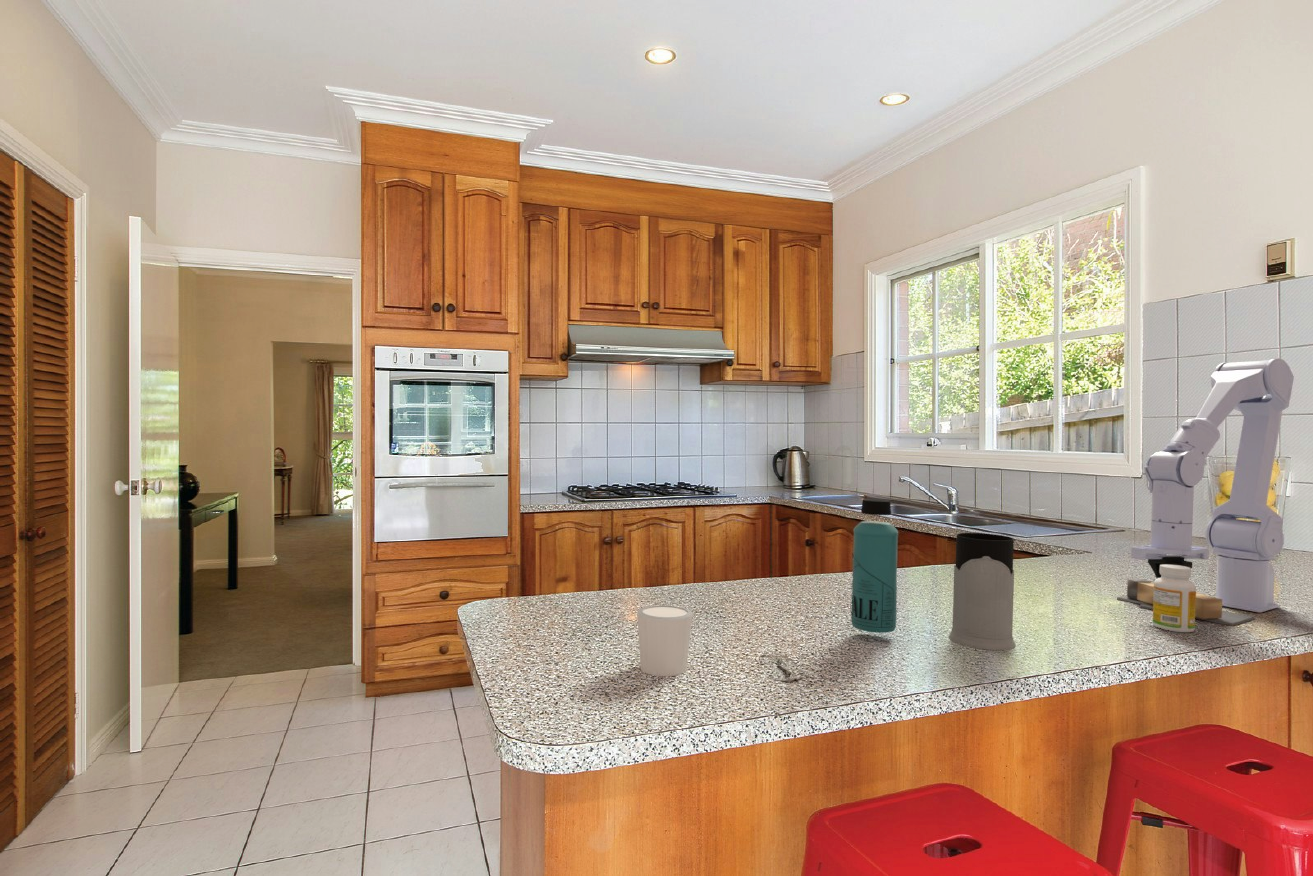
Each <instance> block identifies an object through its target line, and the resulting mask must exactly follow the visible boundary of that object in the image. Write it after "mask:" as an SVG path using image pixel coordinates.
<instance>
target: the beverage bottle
mask: <svg viewBox="0 0 1313 876" xmlns="http://www.w3.org/2000/svg"><path fill="white" fill-rule="evenodd" d="M891 505H892V504H891V500H888V499H882V498H865V499H863V500H862V502H861V511H860V512H861V514H864V515H873V516H891V514H892V508H891V507H892V506H891ZM898 538H899V530H898V529H897V528H896V527H895V526H894V525H893V524H892V523H891V522H885V521H878V520H877V521H876V520H875V521H873V520H866V521H864V520H862V521H860V522H859V523H858V524H857V525H856V526H855V527H854V528H853V546H852V549H853V550H852V553H851V556H852V562H851V565H852V566H851V571H852V574H851V575H852V581H851V585H850V586H851V587H850V588H851V594H850V597H851V611H850V621H851V626H852V627H853V628H855V629H857V630H860V631H864V632H868V633H880V634H882V633H883V634H884V633H891V632H894V631H895V630H896V627H897V621H898V616H897V613H898V600H897V599H898V589H899V588H898V582H897V579H898V578H897V576H898V575H897V571H898Z"/></svg>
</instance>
